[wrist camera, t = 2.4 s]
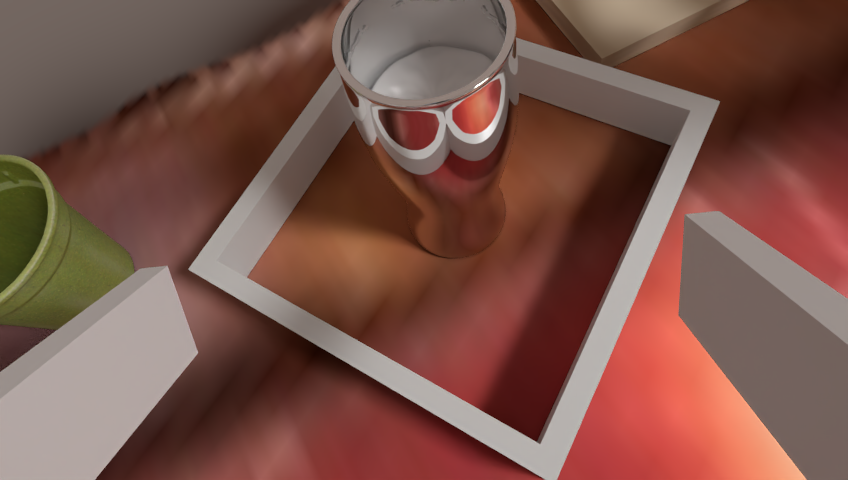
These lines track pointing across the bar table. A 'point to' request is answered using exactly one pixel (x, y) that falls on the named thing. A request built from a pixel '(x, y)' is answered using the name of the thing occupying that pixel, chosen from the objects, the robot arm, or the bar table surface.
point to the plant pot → (49, 252)
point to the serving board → (628, 24)
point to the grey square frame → (685, 131)
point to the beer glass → (435, 109)
